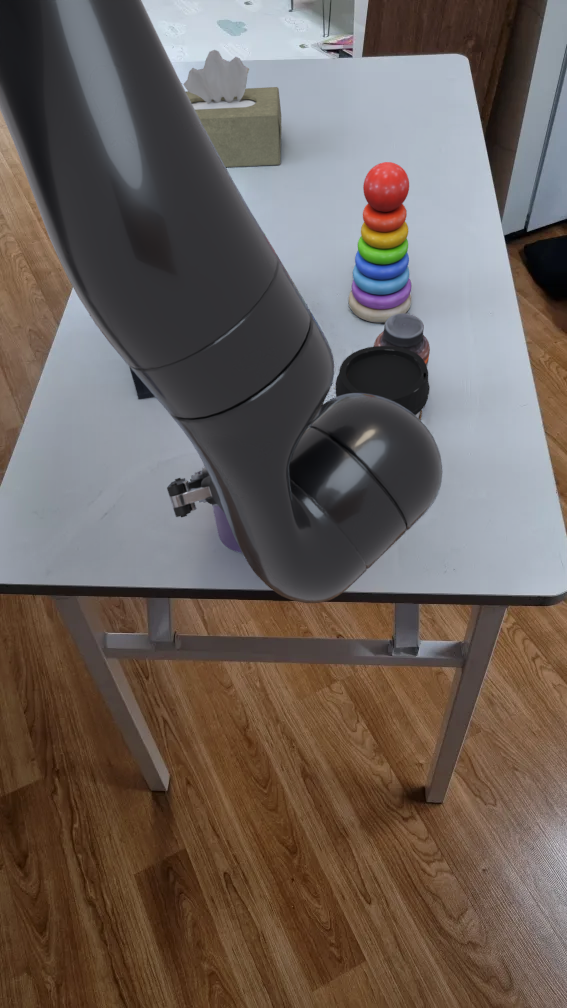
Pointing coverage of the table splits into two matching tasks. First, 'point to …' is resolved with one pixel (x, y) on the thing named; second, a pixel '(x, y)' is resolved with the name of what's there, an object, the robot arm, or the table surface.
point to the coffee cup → (386, 376)
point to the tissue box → (236, 112)
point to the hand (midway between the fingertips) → (235, 472)
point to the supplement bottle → (405, 335)
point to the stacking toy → (382, 247)
